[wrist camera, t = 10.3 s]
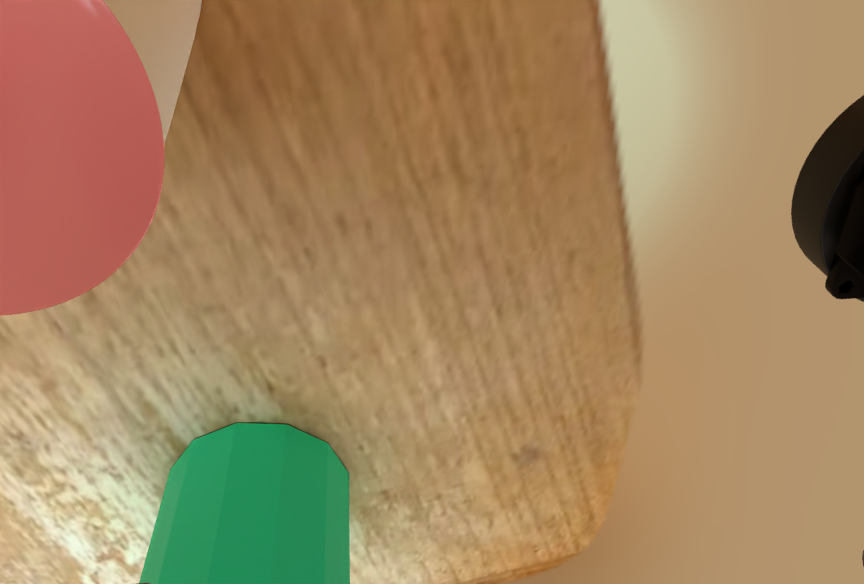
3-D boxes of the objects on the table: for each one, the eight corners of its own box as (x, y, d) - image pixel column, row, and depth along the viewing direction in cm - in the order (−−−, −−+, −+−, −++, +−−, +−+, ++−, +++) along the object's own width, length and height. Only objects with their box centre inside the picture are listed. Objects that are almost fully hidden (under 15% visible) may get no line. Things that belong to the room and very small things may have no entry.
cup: (233, -156, 15) (-11, -115, 5) (258, 105, 18) (140, 478, 7) (-49, -166, 14) (-1023, -147, 4) (24, 104, 17) (-440, 507, 7)
